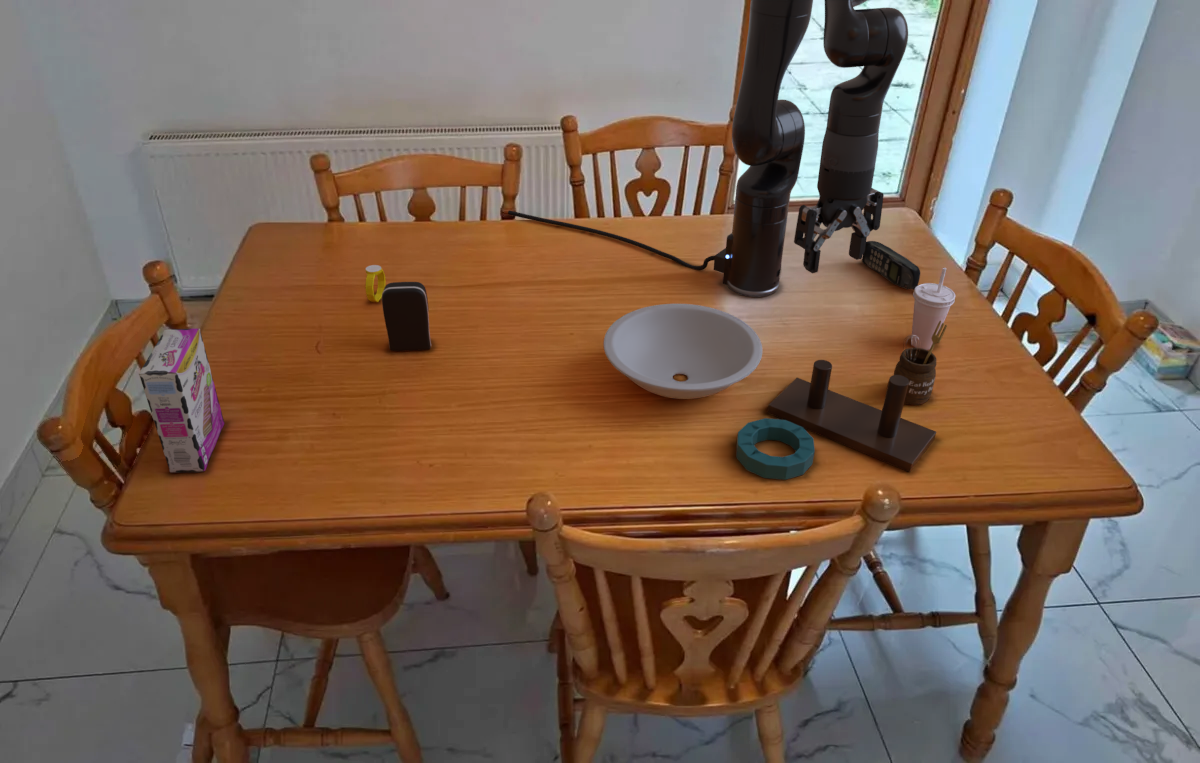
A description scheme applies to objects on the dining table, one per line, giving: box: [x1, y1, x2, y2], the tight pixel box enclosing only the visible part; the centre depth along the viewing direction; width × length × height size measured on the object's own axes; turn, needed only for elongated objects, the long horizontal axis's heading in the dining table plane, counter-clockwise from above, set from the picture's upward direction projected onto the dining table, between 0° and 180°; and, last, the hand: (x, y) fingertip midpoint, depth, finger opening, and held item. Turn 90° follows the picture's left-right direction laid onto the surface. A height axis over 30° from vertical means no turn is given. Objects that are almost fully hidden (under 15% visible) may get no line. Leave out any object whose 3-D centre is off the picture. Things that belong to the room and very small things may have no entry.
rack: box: [767, 359, 937, 473], centre depth 132 cm, size 22×9×10 cm, turn 53°
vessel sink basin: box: [603, 303, 763, 400], centre depth 143 cm, size 24×24×7 cm
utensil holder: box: [893, 321, 948, 406], centre depth 138 cm, size 6×6×12 cm
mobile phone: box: [861, 240, 921, 291], centre depth 170 cm, size 5×3×15 cm
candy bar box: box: [138, 327, 225, 474], centre depth 125 cm, size 11×5×16 cm, turn 5°
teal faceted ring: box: [735, 417, 816, 481], centre depth 129 cm, size 10×10×2 cm
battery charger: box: [381, 281, 432, 352], centre depth 149 cm, size 7×4×11 cm, turn 94°
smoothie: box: [910, 267, 956, 351], centre depth 149 cm, size 6×6×14 cm
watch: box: [364, 264, 387, 303], centre depth 163 cm, size 6×3×6 cm, turn 171°
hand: (833, 264), depth 139 cm, fingers open, 8 cm apart
